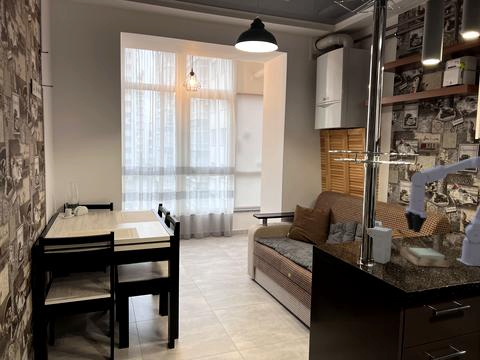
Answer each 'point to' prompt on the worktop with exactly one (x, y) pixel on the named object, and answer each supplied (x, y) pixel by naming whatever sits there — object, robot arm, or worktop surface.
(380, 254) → the small box
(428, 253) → the cover plate
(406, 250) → the wooden box
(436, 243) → the worktop surface
